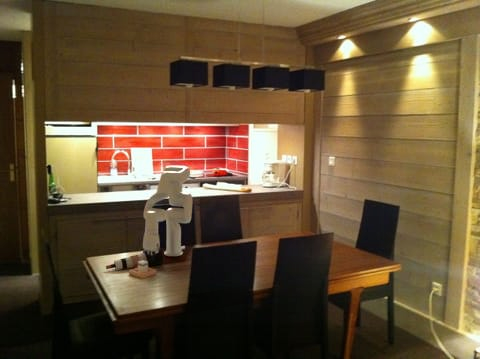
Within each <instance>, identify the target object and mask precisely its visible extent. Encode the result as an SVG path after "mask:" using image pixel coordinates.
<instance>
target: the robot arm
mask: <svg viewBox="0 0 480 359" xmlns="http://www.w3.org/2000/svg"><path fill="white" fill-rule="evenodd" d="M190 176H191V170H190V168H189V167H188V166H182V165H181V166H178V165H166V166H165V167H164V171H163V172H162V173H161V175H160V178H159V181H158V185H157V188H156V191H155V193H154V194H152V195H151V196H150V197H149V198H148V199H147V201H146V203H145V205H144V209H143V219H144V220H145V228H144V234H143V240H142V248H143V250H144V251H145V250H146V251H147V252H148V255H149V262H152V261H154V255H155V253H158V252H159V251H158V250H159V248H161V247H160V235H159V223H160V222H164V221H166V250H165V251H164V252H163V253H164V254H163V255H165V256H168V257H178V256H183V254H184V252H183V251H182V250H185V248H186V246H185V245H182V242H181V241H182V240H181V239H182V227H181V225H180V224H190V222H191V220H192V214H193V196H192V194H191V193H190V192H184V191H183V184H184V183H185V182H187V181H188V180H189V178H190ZM165 199H168V202H169V203H168V204H169V205H171V206H173V207H169V208H168V209H166V210H165V209H162V208H154V205H155V204H157V203H158V202H161V201H162V200H165ZM180 207H183V208H180Z"/></svg>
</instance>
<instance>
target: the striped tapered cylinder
mask: <svg viewBox="0 0 480 359" xmlns="http://www.w3.org/2000/svg"><path fill="white" fill-rule="evenodd" d="M158 251H159V252H158V253H155V255H154V261H152V262H149V255H148V252H147V251H146V250H145V249H144V250H142V253H139V254H134V255H131V256H127V257H123V258H120V259H115V260H113V263H112V264H111V263H110V264H108V265H105V269H106V270H109V269H115V271H120V270H124V269H131V268H132V269H134V268H138V261H142V260H144V261H148V267H151V266H156V265H160V264H163V263H164V254H163V251H162V249H161V247H159V250H158Z"/></svg>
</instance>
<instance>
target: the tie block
mask: <svg viewBox="0 0 480 359" xmlns="http://www.w3.org/2000/svg"><path fill="white" fill-rule="evenodd" d="M148 267H149V266H148V261H144V260H142V261H138V266H137V268H138V272H139V273H142V274H143V273H146V272H148Z"/></svg>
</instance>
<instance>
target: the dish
mask: <svg viewBox="0 0 480 359" xmlns="http://www.w3.org/2000/svg"><path fill="white" fill-rule="evenodd" d="M154 274H155V275H157V269H155V268H152V267H150V266H148V272H146V273H143V274H142V273H139V272H138V267H134V268H132V269H129V270H128V275H129V276H132V277H135V278H139V279H141V280H143V279H146V278H149V277H151V275H152V276H154ZM148 276H149V277H148Z"/></svg>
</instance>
